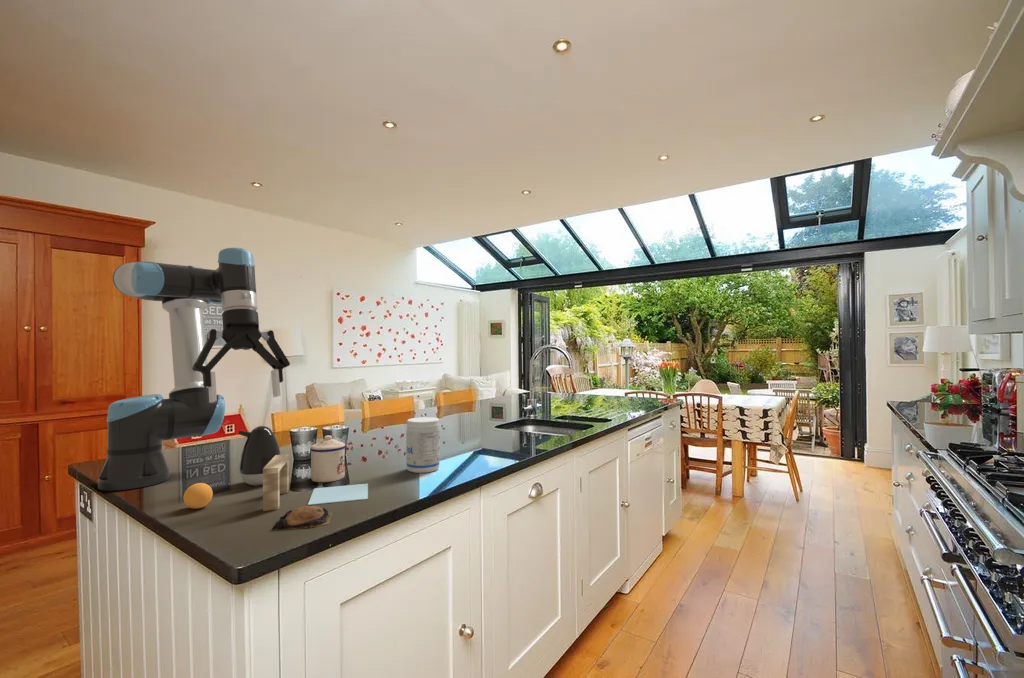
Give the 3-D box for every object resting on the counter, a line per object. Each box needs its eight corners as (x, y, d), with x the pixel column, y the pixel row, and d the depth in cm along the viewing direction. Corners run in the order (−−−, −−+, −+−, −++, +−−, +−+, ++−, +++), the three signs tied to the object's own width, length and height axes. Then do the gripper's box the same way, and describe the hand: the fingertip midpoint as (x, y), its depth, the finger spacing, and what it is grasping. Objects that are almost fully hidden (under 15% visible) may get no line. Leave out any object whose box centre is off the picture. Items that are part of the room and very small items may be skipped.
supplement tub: (401, 469, 137) (400, 419, 137) (430, 463, 142) (429, 416, 143) (415, 475, 129) (415, 422, 129) (445, 470, 135) (445, 419, 135)
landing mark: (314, 489, 117) (314, 488, 117) (367, 484, 121) (367, 483, 121) (307, 505, 105) (307, 504, 105) (367, 499, 109) (367, 498, 109)
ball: (188, 505, 106) (188, 481, 106) (216, 502, 108) (216, 479, 108) (179, 513, 101) (179, 488, 101) (208, 510, 102) (208, 485, 102)
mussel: (333, 515, 100) (333, 498, 100) (328, 529, 92) (328, 510, 92) (280, 520, 98) (280, 502, 98) (269, 534, 89) (269, 515, 90)
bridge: (262, 511, 101) (262, 468, 102) (275, 492, 115) (275, 455, 116) (277, 509, 102) (277, 467, 103) (288, 490, 116) (288, 454, 116)
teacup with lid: (344, 481, 125) (344, 437, 125) (308, 484, 122) (308, 440, 122) (346, 470, 136) (346, 430, 136) (313, 473, 133) (313, 432, 134)
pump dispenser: (241, 480, 127) (241, 424, 127) (283, 476, 131) (283, 422, 131) (235, 490, 117) (235, 430, 118) (281, 485, 121) (281, 427, 122)
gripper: (182, 304, 100) (187, 401, 97) (298, 310, 119) (306, 392, 115) (173, 313, 105) (178, 406, 102) (287, 317, 124) (294, 396, 120)
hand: (246, 398), depth 109 cm, fingers open, 13 cm apart
